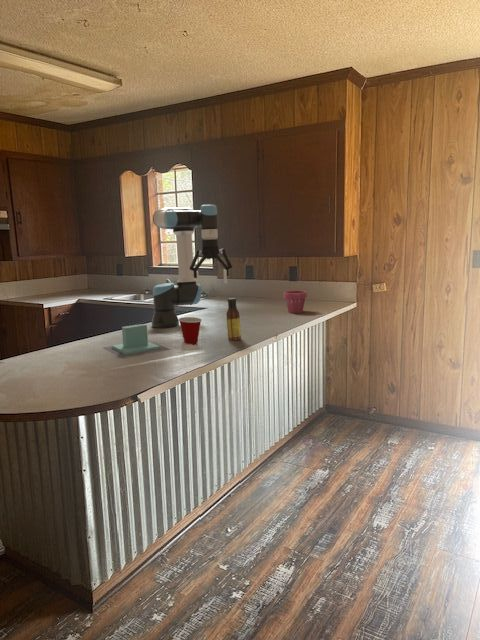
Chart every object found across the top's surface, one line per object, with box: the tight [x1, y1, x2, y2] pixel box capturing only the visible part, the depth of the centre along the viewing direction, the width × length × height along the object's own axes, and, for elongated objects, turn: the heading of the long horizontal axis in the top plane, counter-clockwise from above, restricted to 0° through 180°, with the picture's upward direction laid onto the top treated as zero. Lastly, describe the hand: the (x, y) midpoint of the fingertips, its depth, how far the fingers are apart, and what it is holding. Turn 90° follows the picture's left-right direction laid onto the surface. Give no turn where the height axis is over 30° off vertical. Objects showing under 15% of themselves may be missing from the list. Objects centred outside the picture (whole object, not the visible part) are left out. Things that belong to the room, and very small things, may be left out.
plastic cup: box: [178, 316, 203, 346], centre depth 226 cm, size 11×11×12 cm
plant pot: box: [283, 290, 307, 314], centre depth 306 cm, size 14×14×13 cm
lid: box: [111, 323, 160, 355], centre depth 217 cm, size 16×16×10 cm
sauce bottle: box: [226, 297, 242, 341], centre depth 232 cm, size 7×6×20 cm
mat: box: [103, 340, 171, 359], centre depth 218 cm, size 24×22×1 cm
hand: (211, 284), depth 232 cm, fingers open, 13 cm apart
